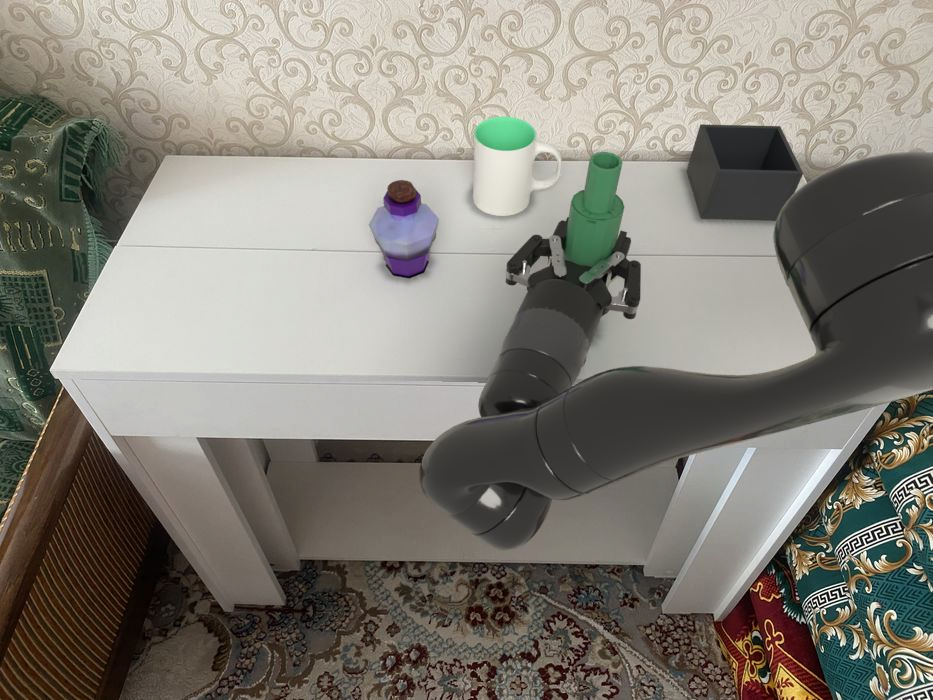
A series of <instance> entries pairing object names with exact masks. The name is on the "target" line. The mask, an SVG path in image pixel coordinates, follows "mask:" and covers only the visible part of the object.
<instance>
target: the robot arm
mask: <svg viewBox="0 0 933 700" xmlns="http://www.w3.org/2000/svg"><path fill="white" fill-rule="evenodd" d="M568 218H569V216H567V217H566V220H563V219H562V220H560V221H559V222H558V223H557V225H556V228H555V229H554V231H553V233H552V235H550V236H549V237H548V238H543V236H542V235H540V234H532V235H531V236H530V238H528V239H527V241H526V242H525V243H523V245H522V246H521V247H520V248H519V249H518V250H517V252H515V253H514V254H513V256H511V257H510V259H509V260H507V262H506V270H505V283H506V285H508V286H516V285H517V284H519V285H522V286H524V287H526V293H525V295H524V298H523V299H522V301H521V304H520V306H519V308H518V310H517V312H516V313H515V316H514V318H513V320H512V322H511V325H510V326H509V328H508V330H507V332H506V334H505V337H504V339H503V342H502V344H501V347H500V350H499V354H498V357H497V359H496V362H495V363H494V365H493V368H492V370H491V372H490V374H489V375H488V378H487V380H486V382H485V384H484V386H483V388H482V390H481V393H480V395H479V398H478V406H477V407H478V413H479V416H480V417H476V418H472V419H468V420H465V421H463V422H460V423H458V424H456V425H454V426H452V427H450V428H449V429H447V430H446V431H444V432H442V433H441V434H439V436H437V437H436V438H435V439H434V441H432V443H430V445H429V446H428V447H427V449H426V451H425V453H424V454H423V456H422V458H421V462H420V466H419V469H418V471H419V472H418V480H419V484H420V488H421V490H422V492H423V494H424V496H425V498H427V500H428V501H430V503H431V504H432V505H434V506H435V507H436V508H438V509H439V510H440V511H441V512H443V513H444V514H445V515H447V516H448V517H449V518H451V519H452V520H453V521H455V522H456V523H457V524H458V525H460V526H461V527H462V528H464V529H465V530H466V531H467V532H469V533H471V534H472V535H473V536H474V537H476V538H477V539H478V540H480V541H481V542H483V544H485V545H487V546H489V547H490V548H492V549H494V550H498V551H503V552H508V551H513V550H516V549H518V548H520V547H522V546H524V545H525V544H527V543H529V542H530V540H532V539H533V538H534V537H535V536H536V535H537V534H538V532H539V531H540V530H541V528H542V526H543V525H544V523H545V522H546V520H547V517H548V515H549V512H550V509H551V506H552V501H553V500H555V501H571V500H574V499H578V498H581V497H583V496H586V495H589V494H590V493H593V492H595V491H599V490H601V489H603V488H605V487H608V486H611V485H613V484H615V483H618V482H620V481H622V480H625V479H628V478H629V477H632V476H634V475H637V474H639V473H642V472H644V471H646V470H649V469H651V468H655V467H657V466H661V465H663V464H666V463H669V462H672V461H675V460H680V459H683V458H686V457H689V456H693V455H698V454H700V453H704V452H708V451H712V450H715V449H721V448H724V447H729V446H733V445H736V444H741V443H745V442H749V441H752V440H757V439H761V438H764V437H769V436H773V435H776V434H779V433H783V432H788V431H791V430H795V429H799V428H802V427H805V426H809V425H813V424H816V423H820V422H823V421H827V420H830V419H833V418H837V417H842V416H845V415H848V414H852V413H853V414H854V413H857V412H860V411H864V410H867V409H871V408H875V407H878V406H881V405H885V404H888V403H892V402H896V401H900V400H903V399H906V398H910V397H914V396H917V395H919V394H924V393H926V392H928V391H932V390H933V152H931V151H904V152H903V151H902V152H891V153H885V154H879V155H878V154H877V155H873V156H868V157H865V158H862V159H858V160H854V161H850V162H847V163H844V164H842V165H838V167H834V168H831V169H830V170H827V171H825V172H823V173H821V174H820V175H818V176H816V177H814V178H812V179H811V180H809V181H807V182H806V183H805V184H804V185H803V186H801V187H800V188H799V189H797V190H796V191H795V193H794V194H793V195H792V196H791V197H790V198H789V199H788V200H787V202H786V203H785V204H784V206H783V207H782V209H781V211H780V213H779V215H778V217H777V219H776V221H775V223H774V229H773V235H772V237H773V238H772V239H773V240H772V241H773V246H774V252H775V256H776V260H777V264H778V267H779V269H780V273H781V274H782V276H783V277H782V278H783V279H784V282H785V284H786V287H788V290H789V292H790V294H791V297H792V299H793V301H794V303H795V305H796V308H797V310H798V312H799V314H800V316H801V318H802V320H803V322H804V325H805V327H806V329H807V331H808V334H809V336H810V338H811V340H812V343H813V345H814V347H815V353H814V355H812V356H811V357H808V358H807V359H804V360H802V361H800V362H795V363H793V364H791V365H788V366H785V367H781V368H777V369H773V370H769V371H766V372H759V373H751V374H722V373H721V374H719V373H706V372H697V371H689V370H681V369H675V368H670V367H669V368H668V367H658V366H657V367H656V366H646V365H630V366H620V367H616V368H610V369H607V370H603V371H601V372H598V373H596V374H593V375H591V376H589V377H586V378H585V379H583V380H581V381H579V382H577V383H576V384H575V382H576V381H577V379H578V377H579V375H580V373H581V371H582V368H583V367H584V365H585V364H586V362H587V355H588V353H589V350H590V348H591V345H592V342H593V340H594V337H595V334H596V331H597V330H598V329H597V328H598V326H599V325H600V321H601V319H602V317H604V316H605V315H606V314H608V313H609V312H610V311H612V312H620V313H622V316H623V318H625V319H627V320H634V319H635V318H636V316H637V311H638V310H639V305H640V302H641V289H642V288H641V287H642V286H641V284H642V282H641V278H642V277H641V276H642V275H641V273H642V264H641V262H640V261H638V260H634V259H633V260H629V259H628V258H627V257H628V254H629V252H630V248H631V243H632V238H631V237H629V236H628V231H625V230H619V233H618V238H617V242H616V245H615V247H614V249H613V252H612V255H611V256H610V257H608V258H607V259H606V260H604V259H603V260H601V261H600V262H599V263H597V264H596V265H595V266H594V267H590V266H583V265H578V264H576V263H574V262H571V261H567V260H564V252H563V250H564V244H565V238H566V231H567V225H568ZM541 257H546V259H547V266H546V267H543V268H542V269H541V268H540V269H539V270H536V271H535V272H533V273H530V271H531V269H532V267H533V266H534V265H535V264H536V263H537V262H538V261H539V260H540V259H541ZM619 277H620V278H621V279H623V283H624V284H623V288H622V290H620V291H618V293H617V295H616V296H612V294H611V292H610V290H609V287H610V285H611V284H612V283H613V282H614V281H615V280H617V279H618V278H619Z"/></svg>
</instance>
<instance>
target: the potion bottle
mask: <svg viewBox="0 0 933 700" xmlns="http://www.w3.org/2000/svg"><path fill="white" fill-rule="evenodd" d="M382 200H383V205H382V206H379V207H377V208H376V209H375V212H374V213H373V215H372V218H371V219H370V221H369V222H368V227H369V229H370V232H371V234H372V237H373V239H374V241H375V244H376V245H377V246H378V247H379V249H380V251H381V254H382V256H383V259H384V260H385V263H386V264H385V266H386V268H387V270H388V271H389V272H390V274H391V275H392V276H393V277H399V278H404V279H409V280H410V279H413V278H414V277H417V276H419V275H423V274H425V273H426V270H427V267H428V266H429V263H430V261H429V255H430V251H431V248H432V246H433V243H434V242H435V240H436V238H437V231H438V225H439V221H440V218H439V216H438V215H436V213H435V212H434V211H433V210H432V209H431V207H430V206H429V205H428V204H427V203H422V195H421V194H420V192H419V191H418V190H417V189H416V188H415V186H414V184H413V183H412V181H409V180H404V179H399V180H394V181H392V182H390V183H389V184H387V191H386V192H385V194H384V196H383V199H382Z"/></svg>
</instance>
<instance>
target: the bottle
mask: <svg viewBox="0 0 933 700" xmlns="http://www.w3.org/2000/svg"><path fill="white" fill-rule="evenodd" d="M622 166H623V160H622V158H621V156H619V155H617V154H615V153H613V152H608V151H599V152H595V153H593V154H592V155H590V157H589V161H588V166H587V172H586V178H585V183H584V184H585V185H584V189H581V190H578V192H577V193H575V194H573V196H572V198H571V201H570V205H569V206H570V207H569V212H568V217H569V218H568V225H567V231H566V238H565V244H564V250H563V252H564V260H567V261H571V262H574V263H576V264H578V265H583V266H590V267H594V266H595V265H596V264H597V263H599V262H600V261H601V260H603V259H604V260H606V259H607V258H608V257H610V256H611V255H612V252H613V249H614V247H615V245H616V242H617V238H618V236H619V233H620V229H621V225H622V220H623V216H624V212H625V204H624V201H623V199H622V198H621V197H620V196H619V195H618V194H617V189H618V185H619V181H620V177H621V171H622V168H623V167H622Z"/></svg>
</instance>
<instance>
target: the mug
mask: <svg viewBox="0 0 933 700" xmlns="http://www.w3.org/2000/svg"><path fill="white" fill-rule="evenodd" d="M536 136H537V132H536V130H535V128H534V127H533V126H532V124H530V123H529V122H527V121H526V120H523V119H520V118H517V117H514V116H513V117H512V116H496V117H490V118H487V119H484V120H483V121H481V122H480V123H478V124H477V126H476V127H475V128H474V134H473V137H474V138H473V179H472V180H473V184H472V185H473V188H472V189H473V190H472V201H473V203H474V205H475V206H476V208H478V209H479V210H480V211H482V212H483V213H486V214H488V215H492V216H496V217H509V216H513V215H516V214H520V213H521V212H523V211H524V210H525V209H526V208H527V207H528V206H529V204H530V199H531V194H532V192H533V191H542V190H545V189H548V188H550V187H553V186H554V184H556V182H557V181H558V180H559V178H560V177H561V174H562V169H563V159H562V155H561V152H560V150H559V149H558V148H557V147H556V146H555V145H553V144H551V143H549V142H543V141H538V140H537V138H536ZM542 153H547V154H551V155H553V156H554V157H555V159H556V168H555V171H554V173H553V174H552V175H551V176H550V177H549V178H547V179H543V180H539V179H537V178H536V177H535V176H534V164H535V159H536V157H537V156H538V155H539V154H542Z"/></svg>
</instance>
